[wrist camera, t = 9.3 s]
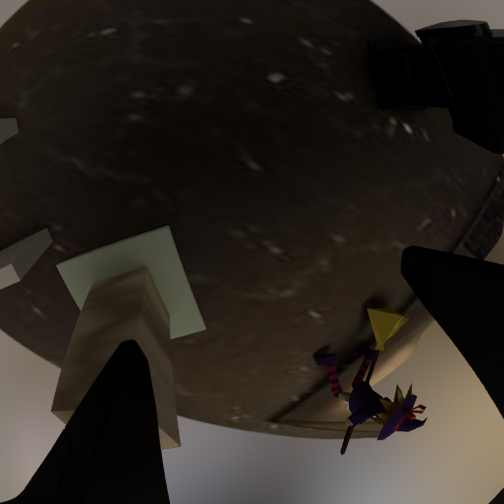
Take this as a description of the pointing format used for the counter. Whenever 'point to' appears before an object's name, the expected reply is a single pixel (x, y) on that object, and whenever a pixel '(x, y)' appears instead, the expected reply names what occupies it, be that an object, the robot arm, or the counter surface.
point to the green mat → (134, 257)
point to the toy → (362, 396)
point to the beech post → (111, 335)
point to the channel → (28, 249)
